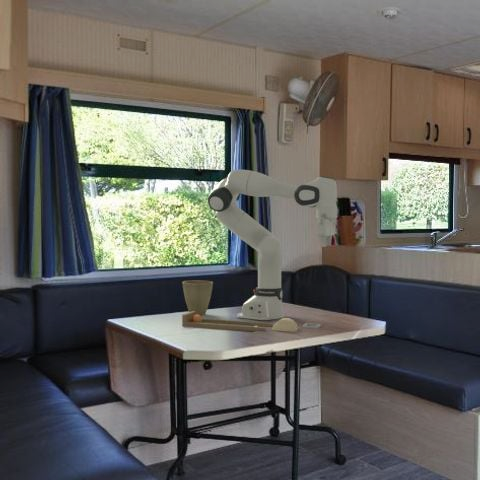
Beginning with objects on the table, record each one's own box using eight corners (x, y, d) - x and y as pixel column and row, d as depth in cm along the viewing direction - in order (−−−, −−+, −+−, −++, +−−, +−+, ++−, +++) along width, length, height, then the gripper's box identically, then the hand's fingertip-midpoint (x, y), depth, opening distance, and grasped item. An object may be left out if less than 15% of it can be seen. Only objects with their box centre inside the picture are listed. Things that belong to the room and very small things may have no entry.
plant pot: (178, 316, 282) (178, 283, 282) (187, 311, 297) (187, 279, 296) (208, 317, 279) (208, 284, 278) (216, 312, 294) (216, 280, 293)
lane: (182, 337, 258) (182, 314, 258) (193, 332, 269) (192, 310, 268) (293, 346, 241) (293, 322, 241) (299, 341, 251) (300, 317, 251)
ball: (201, 319, 259) (194, 313, 260) (196, 326, 260) (189, 320, 261) (205, 317, 263) (198, 312, 264) (200, 324, 264) (193, 318, 265)
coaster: (301, 329, 252) (301, 325, 252) (305, 326, 258) (305, 322, 258) (317, 330, 249) (317, 326, 249) (321, 327, 256) (321, 323, 256)
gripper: (328, 214, 244) (328, 247, 244) (338, 214, 263) (338, 245, 264) (313, 214, 246) (313, 247, 247) (324, 214, 265) (324, 244, 266)
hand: (326, 246), depth 255 cm, fingers open, 8 cm apart
